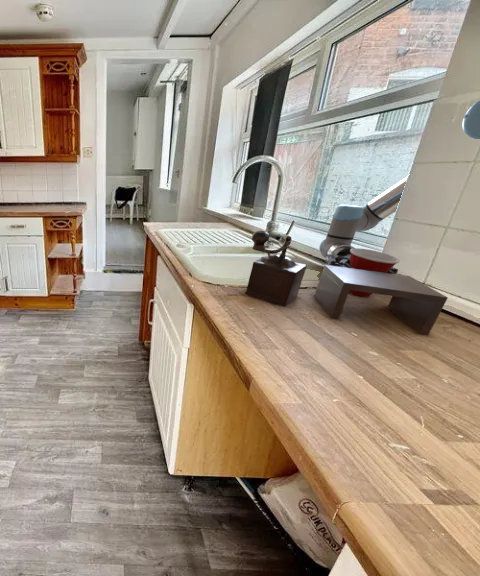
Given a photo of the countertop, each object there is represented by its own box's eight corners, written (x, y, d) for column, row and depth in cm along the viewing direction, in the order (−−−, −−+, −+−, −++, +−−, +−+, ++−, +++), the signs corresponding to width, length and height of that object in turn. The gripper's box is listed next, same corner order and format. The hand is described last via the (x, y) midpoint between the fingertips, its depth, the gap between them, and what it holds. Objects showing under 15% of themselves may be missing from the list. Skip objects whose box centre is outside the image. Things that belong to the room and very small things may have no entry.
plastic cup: (362, 302, 82) (381, 259, 78) (326, 287, 92) (340, 248, 87) (392, 300, 85) (411, 258, 80) (354, 285, 94) (369, 247, 90)
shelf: (394, 308, 79) (409, 275, 76) (428, 335, 66) (448, 297, 63) (314, 295, 85) (324, 264, 82) (330, 318, 72) (344, 282, 69)
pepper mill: (255, 285, 90) (272, 224, 84) (297, 297, 83) (319, 231, 76) (233, 298, 80) (249, 230, 74) (279, 313, 73) (301, 239, 66)
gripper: (379, 272, 100) (418, 297, 80) (304, 262, 106) (322, 283, 87) (388, 250, 97) (431, 270, 77) (310, 241, 104) (331, 257, 84)
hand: (373, 277), depth 82 cm, fingers closed on plastic cup, 9 cm apart
